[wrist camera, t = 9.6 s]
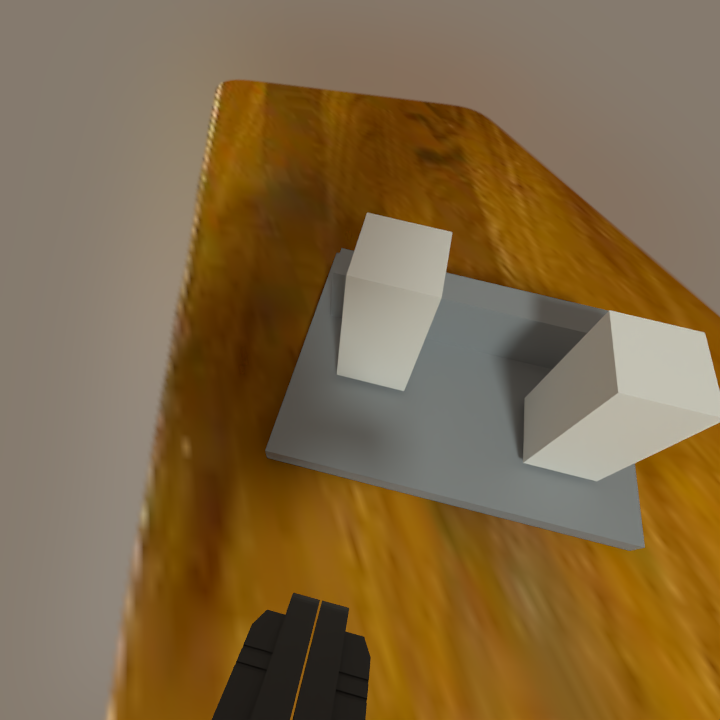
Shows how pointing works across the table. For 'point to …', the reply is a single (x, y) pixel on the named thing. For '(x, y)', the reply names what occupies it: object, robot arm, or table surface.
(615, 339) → the white rectangular block
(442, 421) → the plate
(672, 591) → the table surface
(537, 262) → the table surface
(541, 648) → the table surface
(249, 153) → the table surface
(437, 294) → the tall white pillar block
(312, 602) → the robot arm
